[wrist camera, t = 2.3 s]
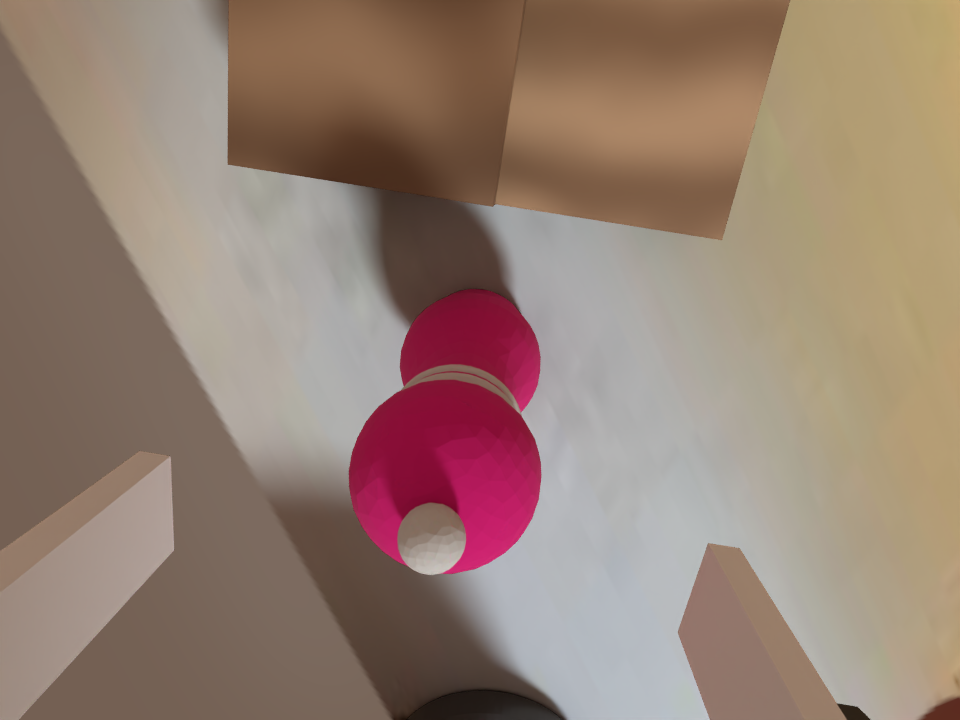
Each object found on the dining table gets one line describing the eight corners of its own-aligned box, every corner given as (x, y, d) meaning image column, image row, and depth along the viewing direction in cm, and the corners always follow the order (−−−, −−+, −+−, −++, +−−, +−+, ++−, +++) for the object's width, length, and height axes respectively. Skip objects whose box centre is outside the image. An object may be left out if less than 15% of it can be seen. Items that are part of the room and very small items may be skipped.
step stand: (694, 233, 30) (758, 248, 22) (300, 170, 30) (227, 164, 22) (789, -120, 25) (914, -258, 17) (316, -194, 25) (230, -364, 17)
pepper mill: (391, 326, 32) (219, 526, 13) (489, 254, 31) (456, 362, 12) (463, 418, 34) (403, 715, 15) (560, 354, 32) (634, 594, 13)
